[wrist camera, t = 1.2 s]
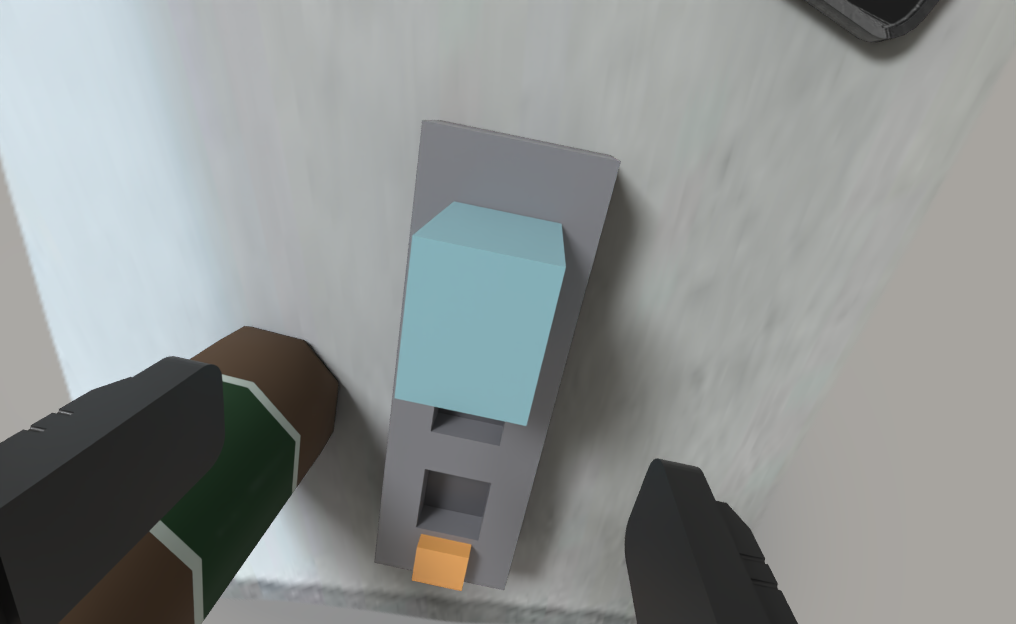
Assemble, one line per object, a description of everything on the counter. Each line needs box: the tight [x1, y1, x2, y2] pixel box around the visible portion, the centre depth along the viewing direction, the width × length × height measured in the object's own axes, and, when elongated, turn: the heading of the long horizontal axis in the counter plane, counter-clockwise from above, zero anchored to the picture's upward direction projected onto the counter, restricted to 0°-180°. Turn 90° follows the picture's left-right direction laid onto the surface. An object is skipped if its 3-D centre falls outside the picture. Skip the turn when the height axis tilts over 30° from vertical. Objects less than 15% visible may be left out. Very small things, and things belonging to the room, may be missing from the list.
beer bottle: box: [58, 326, 339, 624], centre depth 14 cm, size 8×8×24 cm
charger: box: [395, 201, 566, 426], centre depth 16 cm, size 5×4×7 cm
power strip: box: [375, 120, 621, 591], centre depth 21 cm, size 22×7×4 cm, turn 169°
